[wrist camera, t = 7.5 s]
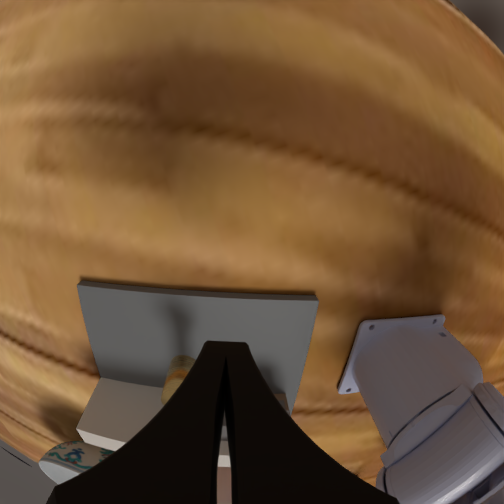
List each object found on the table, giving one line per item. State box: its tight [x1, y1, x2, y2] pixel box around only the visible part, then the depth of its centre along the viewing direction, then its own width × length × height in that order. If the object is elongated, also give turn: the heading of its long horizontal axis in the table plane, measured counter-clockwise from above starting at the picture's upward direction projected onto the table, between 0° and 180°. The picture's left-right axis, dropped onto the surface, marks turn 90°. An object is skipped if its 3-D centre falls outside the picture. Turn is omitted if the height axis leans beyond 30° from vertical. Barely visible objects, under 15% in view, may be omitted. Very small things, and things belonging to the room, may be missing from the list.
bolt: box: [161, 355, 290, 416], centre depth 15 cm, size 8×6×3 cm
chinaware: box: [39, 440, 115, 484], centre depth 21 cm, size 15×15×8 cm
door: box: [76, 281, 319, 467], centre depth 17 cm, size 17×13×7 cm
